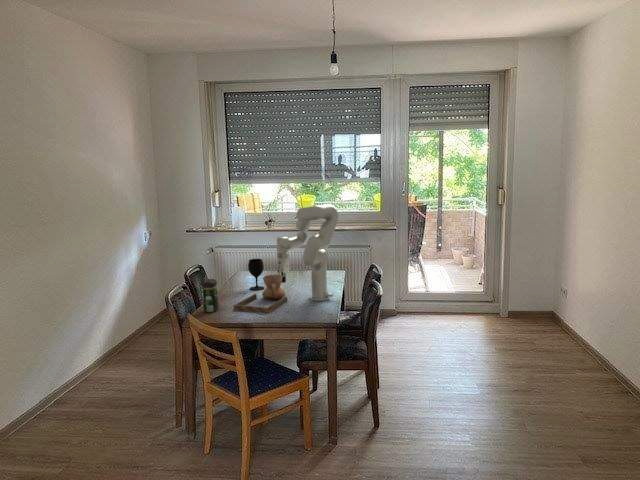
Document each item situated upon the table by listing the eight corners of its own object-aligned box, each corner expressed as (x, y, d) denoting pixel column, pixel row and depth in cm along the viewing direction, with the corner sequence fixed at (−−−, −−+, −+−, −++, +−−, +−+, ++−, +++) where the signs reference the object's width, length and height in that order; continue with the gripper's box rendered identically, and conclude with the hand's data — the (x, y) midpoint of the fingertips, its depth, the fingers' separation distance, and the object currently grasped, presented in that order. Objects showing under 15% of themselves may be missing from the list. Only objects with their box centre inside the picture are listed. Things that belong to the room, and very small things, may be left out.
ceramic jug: (262, 294, 324) (261, 273, 322) (285, 293, 325) (284, 272, 323) (262, 303, 307) (260, 281, 304) (285, 301, 308) (284, 279, 305)
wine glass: (261, 290, 334) (260, 261, 331) (247, 290, 336) (245, 261, 333) (266, 287, 344) (265, 258, 341) (252, 286, 346) (250, 258, 343)
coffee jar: (207, 308, 299) (205, 277, 296) (220, 308, 298) (218, 277, 295) (201, 312, 289) (199, 281, 286) (215, 313, 288) (213, 281, 285)
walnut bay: (287, 301, 308) (287, 296, 307) (268, 313, 285) (268, 308, 284) (254, 298, 316) (254, 294, 316) (233, 309, 293) (233, 305, 293)
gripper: (282, 257, 318) (283, 285, 321) (292, 253, 332) (293, 280, 335) (272, 257, 321) (272, 284, 324) (282, 252, 334) (282, 279, 338)
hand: (283, 282), depth 329 cm, fingers closed
